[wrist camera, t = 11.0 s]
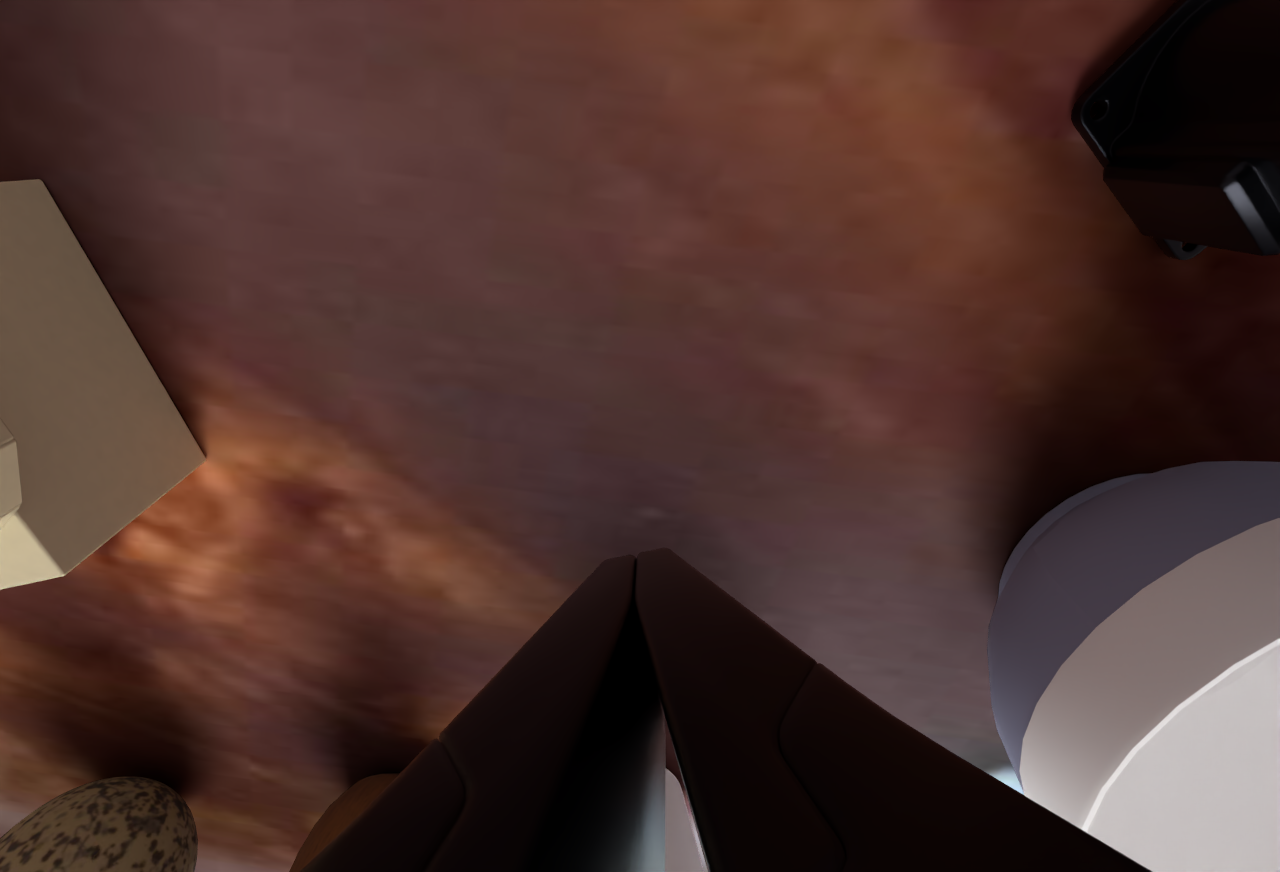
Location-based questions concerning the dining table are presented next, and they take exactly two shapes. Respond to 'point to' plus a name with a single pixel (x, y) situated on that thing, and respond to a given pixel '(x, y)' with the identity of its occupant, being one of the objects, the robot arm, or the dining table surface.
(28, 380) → the button base
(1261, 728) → the bowl
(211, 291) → the dining table surface
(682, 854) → the cup
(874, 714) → the robot arm
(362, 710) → the dining table surface
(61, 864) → the decorative egg
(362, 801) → the wooden figurine
